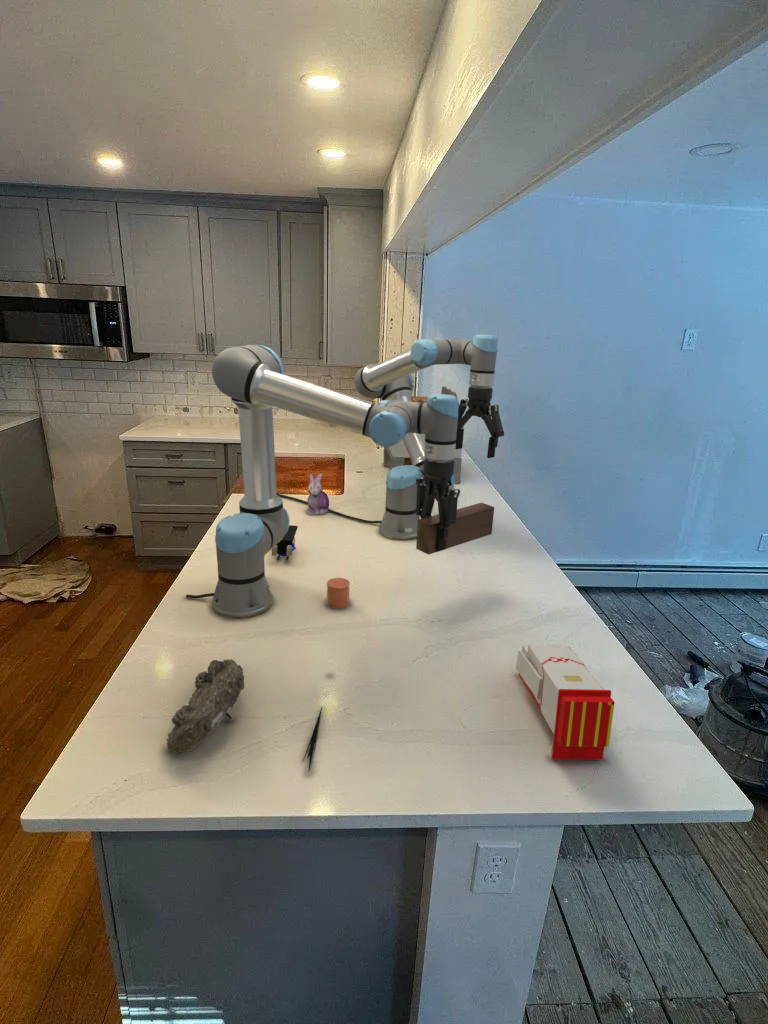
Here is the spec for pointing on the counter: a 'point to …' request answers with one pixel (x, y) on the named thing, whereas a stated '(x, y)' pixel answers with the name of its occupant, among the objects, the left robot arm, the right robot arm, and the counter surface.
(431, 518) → the beam
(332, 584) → the orange clay cylinder
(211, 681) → the fossil
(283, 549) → the figurine character
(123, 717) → the counter surface
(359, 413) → the left robot arm
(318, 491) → the figurine
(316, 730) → the feather
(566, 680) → the toy
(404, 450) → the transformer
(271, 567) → the counter surface
